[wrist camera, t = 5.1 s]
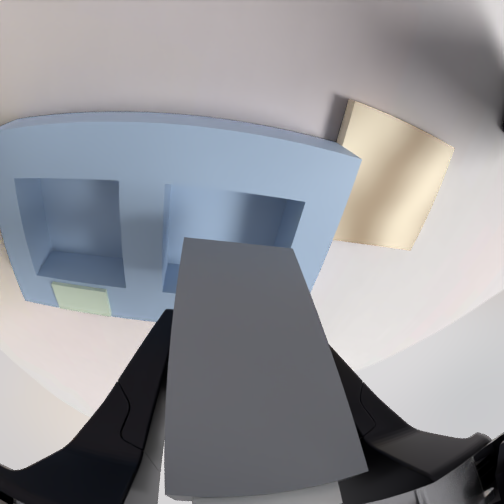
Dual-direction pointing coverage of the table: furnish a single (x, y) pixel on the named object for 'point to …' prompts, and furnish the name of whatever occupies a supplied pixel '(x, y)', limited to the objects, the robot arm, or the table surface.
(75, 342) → the table surface
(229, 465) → the plug
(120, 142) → the dock
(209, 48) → the table surface
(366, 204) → the coaster
